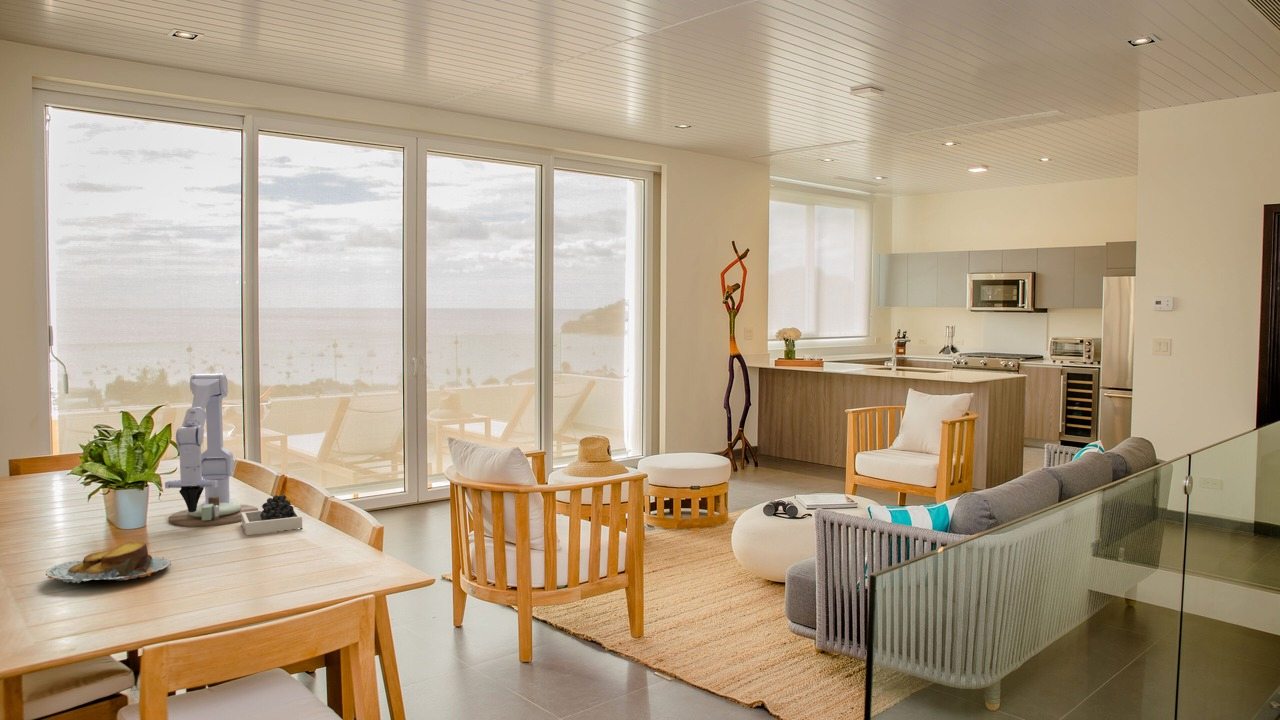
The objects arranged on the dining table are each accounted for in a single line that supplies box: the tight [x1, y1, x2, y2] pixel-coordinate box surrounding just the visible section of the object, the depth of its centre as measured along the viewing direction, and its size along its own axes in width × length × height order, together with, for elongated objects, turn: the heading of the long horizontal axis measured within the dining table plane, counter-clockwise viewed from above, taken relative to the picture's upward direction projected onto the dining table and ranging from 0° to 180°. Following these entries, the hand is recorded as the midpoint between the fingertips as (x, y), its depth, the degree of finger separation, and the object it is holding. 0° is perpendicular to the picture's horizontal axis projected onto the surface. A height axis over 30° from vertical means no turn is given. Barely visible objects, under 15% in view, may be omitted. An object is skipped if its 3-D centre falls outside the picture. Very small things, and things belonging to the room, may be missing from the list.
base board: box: [168, 496, 259, 528], centre depth 271 cm, size 25×25×6 cm
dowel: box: [212, 505, 220, 521], centre depth 263 cm, size 2×2×5 cm
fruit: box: [260, 494, 294, 521], centre depth 259 cm, size 9×8×15 cm
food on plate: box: [45, 541, 172, 584], centre depth 212 cm, size 26×26×7 cm
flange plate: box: [186, 502, 242, 520], centre depth 269 cm, size 20×15×4 cm
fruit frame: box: [240, 506, 303, 536], centre depth 259 cm, size 15×15×4 cm
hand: (192, 511), depth 262 cm, fingers closed
